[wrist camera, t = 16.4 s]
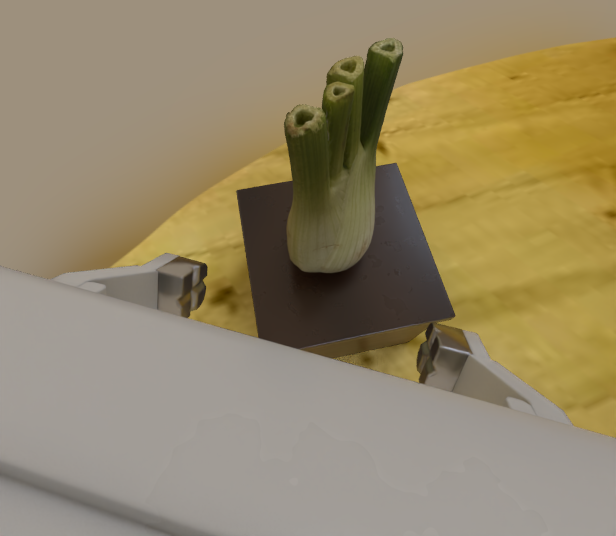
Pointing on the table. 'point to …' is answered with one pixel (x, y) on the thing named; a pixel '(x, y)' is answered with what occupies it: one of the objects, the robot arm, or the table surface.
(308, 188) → the fennel bulb
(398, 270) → the stand
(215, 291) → the table surface
